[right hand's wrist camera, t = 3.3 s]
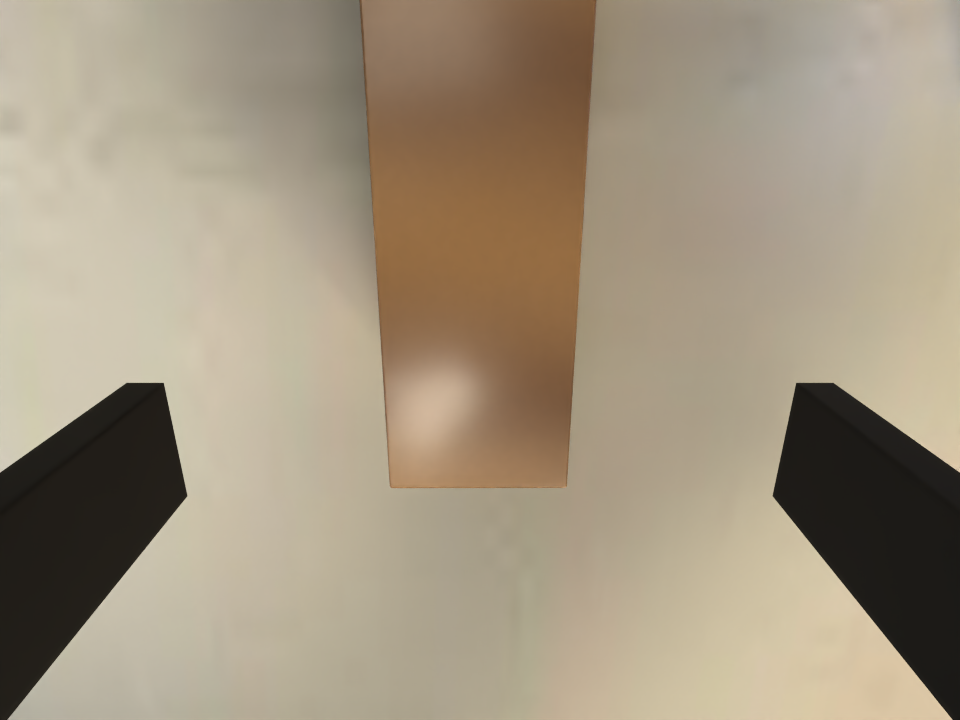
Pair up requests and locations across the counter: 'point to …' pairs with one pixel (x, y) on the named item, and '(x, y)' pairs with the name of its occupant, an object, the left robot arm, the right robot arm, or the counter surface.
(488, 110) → the bar
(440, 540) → the counter surface
